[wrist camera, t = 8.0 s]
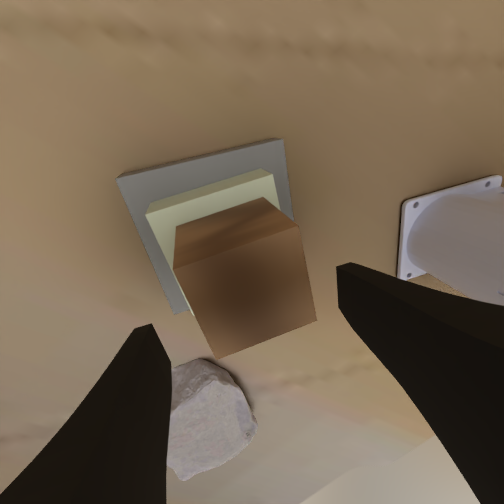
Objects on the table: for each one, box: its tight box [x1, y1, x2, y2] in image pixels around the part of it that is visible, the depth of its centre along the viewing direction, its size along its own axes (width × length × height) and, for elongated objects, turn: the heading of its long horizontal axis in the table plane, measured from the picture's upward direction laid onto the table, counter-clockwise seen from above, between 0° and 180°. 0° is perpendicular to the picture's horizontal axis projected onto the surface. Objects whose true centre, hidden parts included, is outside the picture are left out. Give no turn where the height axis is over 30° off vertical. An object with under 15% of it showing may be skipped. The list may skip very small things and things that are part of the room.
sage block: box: [145, 168, 280, 316], centre depth 16 cm, size 7×7×2 cm
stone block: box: [167, 359, 258, 481], centre depth 26 cm, size 12×5×10 cm
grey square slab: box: [115, 138, 294, 314], centre depth 19 cm, size 10×10×2 cm
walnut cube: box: [173, 197, 317, 360], centre depth 13 cm, size 5×5×5 cm
